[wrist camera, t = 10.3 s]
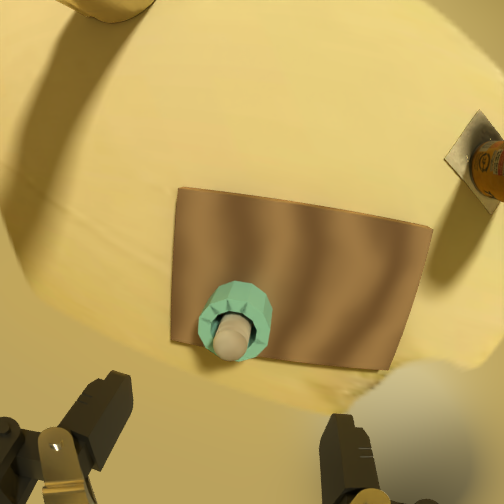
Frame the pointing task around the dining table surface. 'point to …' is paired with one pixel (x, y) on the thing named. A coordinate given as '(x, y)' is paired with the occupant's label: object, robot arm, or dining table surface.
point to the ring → (242, 301)
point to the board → (297, 276)
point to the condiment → (480, 161)
